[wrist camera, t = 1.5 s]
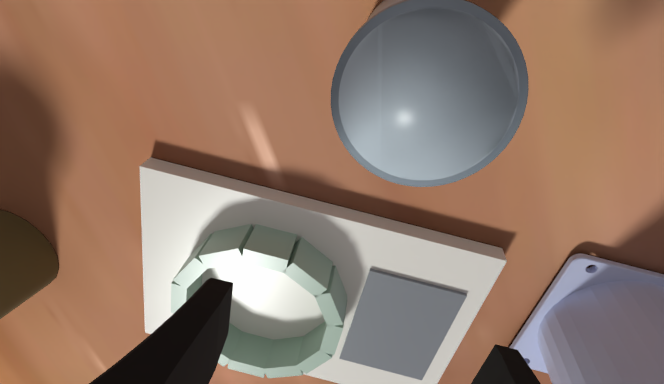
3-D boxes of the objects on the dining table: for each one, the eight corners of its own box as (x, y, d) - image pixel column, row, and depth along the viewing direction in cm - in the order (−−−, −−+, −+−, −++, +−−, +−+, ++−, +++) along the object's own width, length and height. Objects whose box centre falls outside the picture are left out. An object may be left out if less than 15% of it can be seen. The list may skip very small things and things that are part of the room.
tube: (498, -2, 15) (566, 27, 9) (452, 119, 18) (481, 205, 12) (372, -33, 15) (355, -27, 9) (343, 91, 18) (314, 162, 12)
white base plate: (502, 248, 20) (517, 290, 18) (423, 391, 26) (426, 438, 24) (150, 157, 20) (115, 186, 18) (153, 320, 27) (127, 359, 24)
